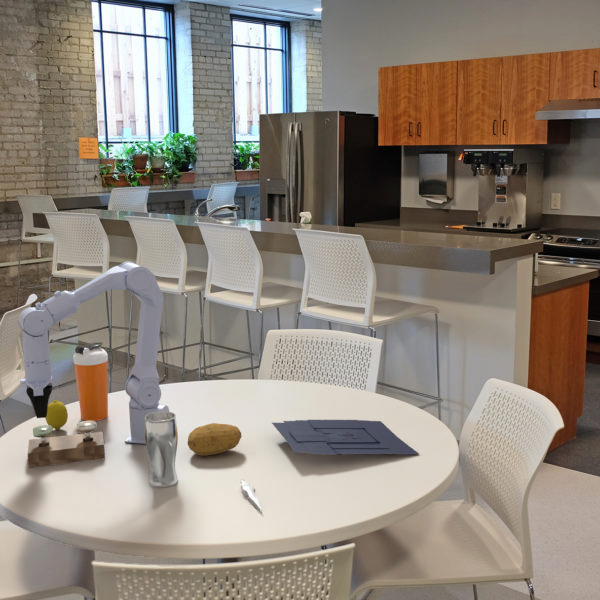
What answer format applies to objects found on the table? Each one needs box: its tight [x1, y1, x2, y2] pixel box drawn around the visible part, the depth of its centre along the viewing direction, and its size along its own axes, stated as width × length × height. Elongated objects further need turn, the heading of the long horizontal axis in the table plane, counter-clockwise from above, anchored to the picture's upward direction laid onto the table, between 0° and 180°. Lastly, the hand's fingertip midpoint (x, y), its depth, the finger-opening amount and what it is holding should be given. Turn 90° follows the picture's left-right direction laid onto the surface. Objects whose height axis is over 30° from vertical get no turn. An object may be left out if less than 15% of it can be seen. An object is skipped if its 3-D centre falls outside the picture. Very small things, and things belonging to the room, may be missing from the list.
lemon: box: [45, 399, 69, 431], centre depth 209 cm, size 6×6×8 cm
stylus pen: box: [240, 478, 263, 512], centre depth 167 cm, size 15×3×2 cm, turn 19°
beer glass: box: [145, 411, 179, 488], centre depth 175 cm, size 7×7×15 cm
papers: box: [271, 419, 420, 456], centre depth 196 cm, size 24×30×4 cm
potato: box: [187, 422, 242, 456], centre depth 192 cm, size 9×13×7 cm
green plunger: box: [32, 424, 54, 447], centre depth 189 cm, size 4×4×4 cm
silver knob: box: [76, 420, 98, 442], centre depth 192 cm, size 4×4×4 cm
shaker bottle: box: [72, 341, 109, 422], centre depth 217 cm, size 9×9×20 cm
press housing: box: [27, 431, 106, 469], centre depth 191 cm, size 17×9×4 cm, turn 106°
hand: (41, 416), depth 188 cm, fingers closed
